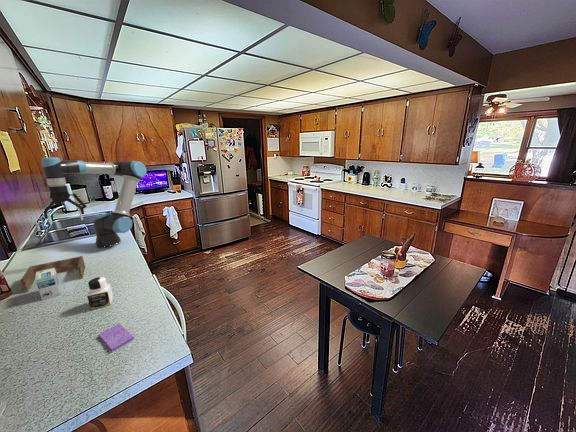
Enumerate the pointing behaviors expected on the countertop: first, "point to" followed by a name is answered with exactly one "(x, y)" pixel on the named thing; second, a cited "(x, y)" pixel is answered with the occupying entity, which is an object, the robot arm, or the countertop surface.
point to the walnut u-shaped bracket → (59, 267)
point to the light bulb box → (48, 283)
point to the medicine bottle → (99, 293)
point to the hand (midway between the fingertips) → (67, 221)
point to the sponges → (116, 337)
